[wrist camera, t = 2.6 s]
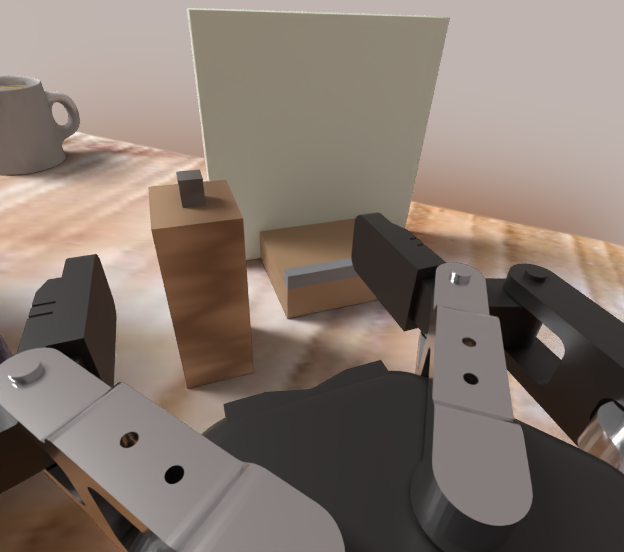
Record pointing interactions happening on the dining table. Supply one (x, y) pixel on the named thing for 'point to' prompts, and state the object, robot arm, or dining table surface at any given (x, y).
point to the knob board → (204, 275)
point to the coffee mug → (31, 126)
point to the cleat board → (314, 133)
